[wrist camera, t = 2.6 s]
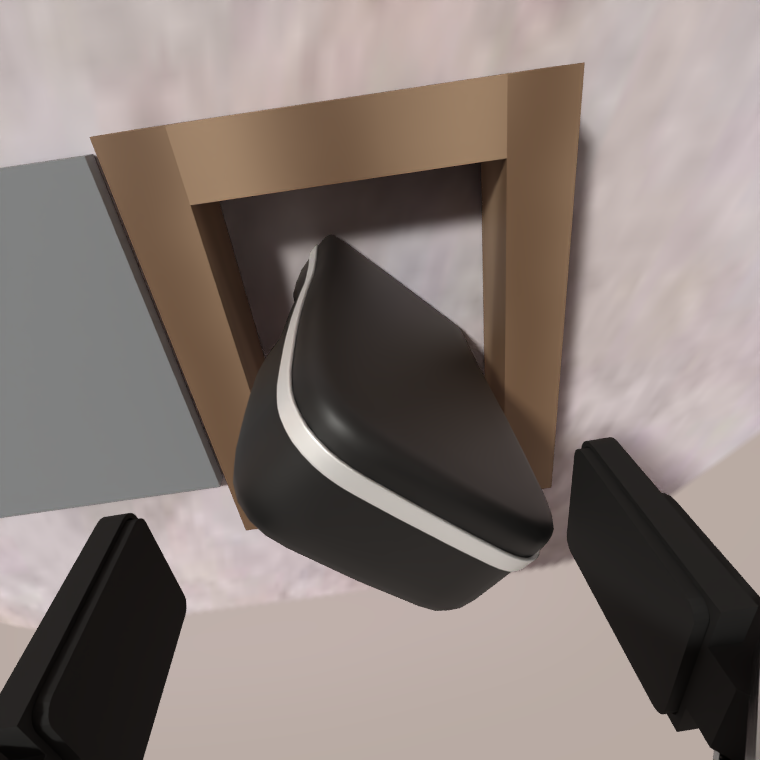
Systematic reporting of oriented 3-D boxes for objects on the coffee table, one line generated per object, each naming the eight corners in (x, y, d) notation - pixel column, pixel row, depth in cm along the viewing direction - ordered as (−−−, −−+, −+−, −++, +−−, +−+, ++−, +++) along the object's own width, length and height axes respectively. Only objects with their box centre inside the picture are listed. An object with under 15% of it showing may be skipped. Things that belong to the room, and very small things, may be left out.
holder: (542, 68, 15) (584, 62, 12) (527, 442, 23) (551, 487, 20) (133, 129, 15) (89, 137, 12) (257, 481, 23) (245, 530, 20)
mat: (93, 154, 15) (84, 156, 15) (222, 477, 23) (220, 486, 22) (-272, 208, 15) (-293, 212, 15) (-27, 513, 23) (-36, 522, 22)
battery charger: (267, 304, 18) (179, 545, 9) (324, 223, 17) (296, 400, 7) (407, 394, 21) (462, 659, 11) (466, 329, 19) (591, 569, 10)
